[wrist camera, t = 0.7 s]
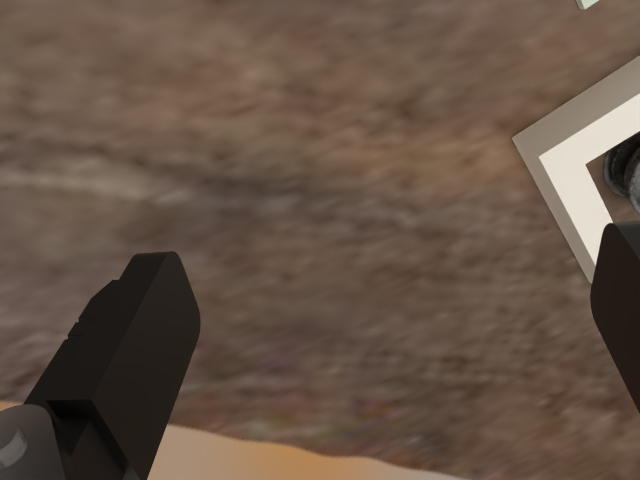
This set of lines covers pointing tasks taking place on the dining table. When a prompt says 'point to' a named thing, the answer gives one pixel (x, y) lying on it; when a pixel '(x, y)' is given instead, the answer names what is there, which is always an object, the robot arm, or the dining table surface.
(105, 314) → the robot arm
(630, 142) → the grey chess piece
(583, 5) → the mat
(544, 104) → the dining table surface
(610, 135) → the holder
